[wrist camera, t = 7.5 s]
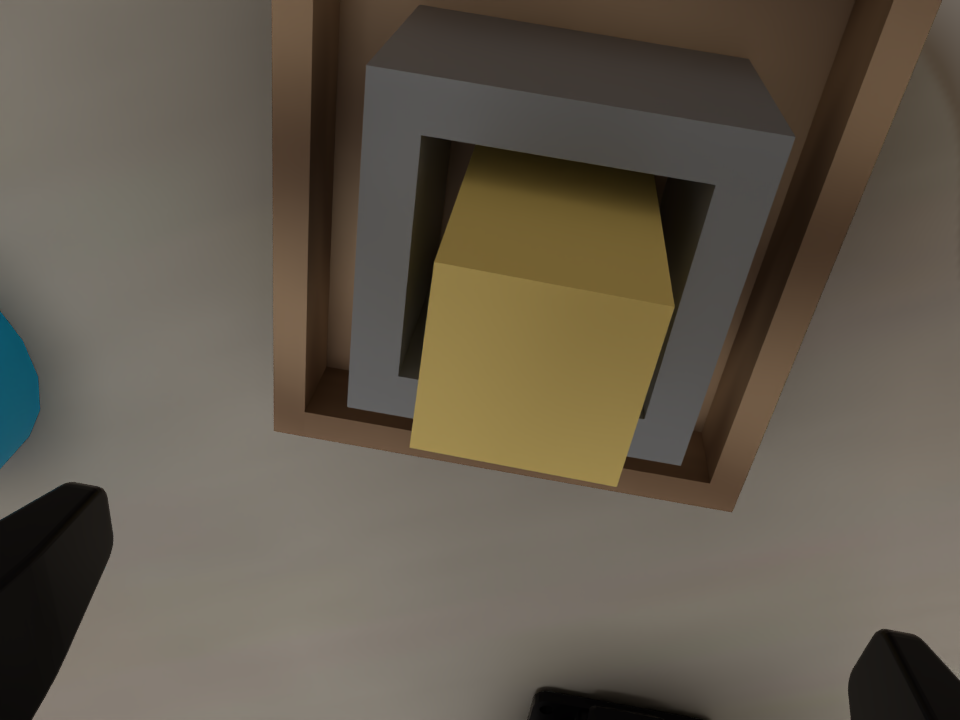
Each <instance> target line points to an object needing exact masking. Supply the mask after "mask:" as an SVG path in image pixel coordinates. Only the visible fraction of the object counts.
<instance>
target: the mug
mask: <svg viewBox="0 0 960 720" xmlns="http://www.w3.org/2000/svg"><path fill="white" fill-rule="evenodd" d="M39 411H40V401H39V383H38V376H37V373H36V371H35V369H34V366H33V364H32V361H31V359H30V357H29V354H28V352H27V350H26V347H25V345H24V342H23V340H22V339H21V338H20V336H19V335H18V334H17V333H16V331H15V330H14V329H13V327H12V326H11V325H10V323H9V322H8V321H7V320H6V318H5V317H4V316H3V314H2V313H1V312H0V468H1V467H2V466H3V465H4V464H5V463H6V462H7V461H8V459H9V458H10V457H11V456H12V455H13V454H14V453H15V452H16V451H17V449H18V448H19V447H20V446H21V445H22V444H23V443H24V442H25V440H26V439H27V438H28V437H29V436H30V433H31V431H32V429H33V426H34V424H35V421H36V419H37V416H38V414H39Z"/></svg>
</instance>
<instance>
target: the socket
mask: <svg viewBox="0 0 960 720" xmlns="http://www.w3.org/2000/svg"><path fill="white" fill-rule="evenodd" d="M451 140H452V141H458V142H464V143H470V144H476V145H482V146H488V147H494V148H500V149H506V150H512V151H518V152H524V153H529V154H535V155H541V156H547V157H553V158H559V159H565V160H571V161H577V162H583V163H589V164H595V165H600V166H606V167H612V168H618V169H624V170H630V171H636V172H642V173H648V174H654V175H660V176H666V177H667V181H666V185H665V188H664V192H663V196H662V199H661V203H660V207H659V210H660V216H661V223H662V229H663V235H664V242H665V248H666V254H667V261H668V267H669V274H670V280H671V286H672V293H673V299H674V305H675V308H674V311H673V314H672V317H671V320H670V323H669V326H668V329H667V333H666V336H665V339H664V342H663V345H662V348H661V351H660V354H659V357H658V360H657V364H656V367H655V370H654V373H653V376H652V379H651V382H650V385H649V388H648V392H647V395H646V398H645V401H644V404H643V407H642V410H641V413H640V416H639V419H638V423H637V426H636V429H635V432H634V435H633V438H632V441H631V444H630V447H629V450H628V454H627V456H628V457H633V458H639V459H645V460H650V461H656V462H662V463H667V464H673V465H679V466H681V464H682V461H683V458H684V456H685V453H686V450H687V447H688V444H689V441H690V438H691V435H692V433H693V430H694V427H695V424H696V421H697V418H698V415H699V413H700V410H701V407H702V404H703V401H704V398H705V395H706V393H707V390H708V387H709V384H710V381H711V378H712V375H713V372H714V370H715V367H716V364H717V361H718V358H719V355H720V352H721V350H722V347H723V344H724V341H725V338H726V335H727V332H728V329H729V327H730V324H731V321H732V318H733V315H734V312H735V309H736V307H737V304H738V301H739V298H740V295H741V292H742V289H743V286H744V284H745V281H746V278H747V275H748V272H749V269H750V266H751V264H752V261H753V258H754V255H755V252H756V249H757V246H758V244H759V241H760V238H761V235H762V232H763V229H764V226H765V223H766V221H767V218H768V215H769V212H770V209H771V206H772V203H773V201H774V198H775V195H776V192H777V189H778V186H779V183H780V180H781V178H782V175H783V172H784V169H785V166H786V163H787V160H788V158H789V155H790V152H791V149H792V146H793V143H794V140H795V135H794V133H793V132H792V130H791V128H790V127H789V125H788V123H787V122H786V120H785V118H784V117H783V115H782V113H781V112H780V110H779V108H778V107H777V105H776V103H775V102H774V100H773V98H772V97H771V95H770V93H769V92H768V90H767V88H766V87H765V85H764V83H763V82H762V80H761V78H760V77H759V75H758V73H757V72H756V70H755V68H754V67H753V65H752V63H751V62H750V60H749V59H746V58H740V57H733V56H727V55H721V54H715V53H709V52H703V51H697V50H691V49H685V48H679V47H673V46H667V45H661V44H655V43H649V42H643V41H637V40H631V39H625V38H619V37H613V36H607V35H601V34H594V33H588V32H582V31H576V30H570V29H564V28H558V27H552V26H546V25H540V24H534V23H528V22H522V21H516V20H510V19H504V18H498V17H492V16H486V15H480V14H474V13H468V12H461V11H455V10H449V9H443V8H437V7H431V6H425V5H419V6H418V7H417V8H416V9H415V10H414V11H413V13H412V14H411V15H410V16H409V17H408V18H407V19H406V20H405V22H404V23H403V24H402V25H401V26H400V27H399V28H398V30H397V31H396V32H395V33H394V34H393V35H392V36H391V37H390V39H389V40H388V41H387V42H386V43H385V44H384V45H383V47H382V48H381V49H380V50H379V51H378V52H377V53H376V55H375V56H374V57H373V58H372V59H371V60H370V61H369V62H368V64H367V65H366V77H365V95H364V113H363V131H362V149H361V167H360V185H359V203H358V221H357V239H356V257H355V275H354V293H353V311H352V329H351V347H350V364H349V382H348V400H347V407H350V408H356V409H361V410H367V411H373V412H378V413H384V414H390V415H395V416H401V417H407V418H412V419H413V417H414V410H415V402H416V395H417V387H418V380H419V372H420V365H421V357H422V350H423V342H424V335H425V327H426V320H427V312H428V304H429V297H430V289H431V282H432V274H433V267H434V261H435V258H436V255H437V252H438V250H439V242H440V234H441V225H442V216H443V208H444V199H445V191H446V182H447V173H448V165H449V156H450V148H451Z"/></svg>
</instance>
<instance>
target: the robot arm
mask: <svg viewBox="0 0 960 720" xmlns="http://www.w3.org/2000/svg"><path fill="white" fill-rule="evenodd" d="M112 547H113V530H112V524H111V517H110V510H109V504H108V498H107V494H106V492H105V491H104V489H103V488H100V487H98V486H93V485H87V484H82V483H76V482H68V483H65V484H63V485H61V486H59V487H57V488H55V489H54V490H52V491H50V492H48V493H47V494H45V495H43V496H41V497H40V498H38V499H36V500H34V501H33V502H31V503H29V504H27V505H26V506H24V507H22V508H20V509H19V510H17V511H15V512H13V513H12V514H10V515H8V516H6V517H5V518H3V519H1V520H0V720H32V719H33V717H34V715H35V713H36V712H37V710H38V708H39V707H40V705H41V703H42V701H43V700H44V698H45V696H46V694H47V693H48V691H49V689H50V687H51V685H52V683H53V682H54V680H55V678H56V676H57V674H58V672H59V670H60V668H61V666H62V663H63V661H64V659H65V657H66V655H67V653H68V650H69V648H70V646H71V644H72V641H73V639H74V637H75V634H76V632H77V630H78V628H79V625H80V623H81V621H82V619H83V616H84V614H85V612H86V610H87V607H88V605H89V603H90V600H91V598H92V596H93V594H94V591H95V589H96V587H97V585H98V582H99V580H100V578H101V575H102V573H103V571H104V569H105V566H106V564H107V562H108V560H109V557H110V554H111V551H112ZM848 695H849V705H850V715H851V720H960V680H959V679H958V678H957V677H956V676H955V675H954V674H953V672H952V671H951V670H950V669H949V668H948V667H947V666H946V665H945V664H944V663H943V662H942V660H941V659H940V658H939V657H938V656H937V655H936V654H935V653H934V652H933V651H932V650H931V649H930V647H929V646H928V645H927V644H926V643H925V642H924V641H923V640H922V639H921V638H919V637H918V636H916V635H914V634H910V633H905V632H899V631H893V630H888V629H881V630H879V631H878V632H876V633H875V634H874V635H873V637H872V638H871V640H870V642H869V643H868V645H867V647H866V648H865V650H864V651H863V653H862V655H861V656H860V658H859V660H858V661H857V663H856V665H855V666H854V668H853V670H852V672H851V674H850V678H849V683H848ZM527 720H702V719H696V718H691V717H685V716H680V715H674V714H669V713H663V712H658V711H652V710H647V709H641V708H636V707H631V706H625V705H620V704H614V703H609V702H603V701H598V700H592V699H587V698H581V697H576V696H570V695H565V694H559V693H554V692H546V691H544V692H539V693H537V694H536V695H535V696H534V698H533V701H532V705H531V708H530V712H529V716H528V719H527Z"/></svg>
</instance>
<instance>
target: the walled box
mask: <svg viewBox="0 0 960 720" xmlns="http://www.w3.org/2000/svg"><path fill="white" fill-rule="evenodd" d="M941 2H942V0H272V154H273V350H274V431H277V432H283V433H288V434H294V435H299V436H305V437H311V438H316V439H322V440H328V441H333V442H339V443H345V444H350V445H356V446H361V447H367V448H373V449H378V450H384V451H390V452H395V453H401V454H407V455H412V456H418V457H424V458H429V459H435V460H440V461H446V462H452V463H457V464H463V465H469V466H474V467H480V468H486V469H491V470H497V471H502V472H508V473H514V474H519V475H525V476H531V477H536V478H542V479H548V480H553V481H559V482H564V483H570V484H576V485H581V486H587V487H593V488H598V489H604V490H610V491H615V492H621V493H626V494H632V495H638V496H643V497H649V498H655V499H660V500H666V501H672V502H677V503H683V504H688V505H694V506H700V507H705V508H711V509H717V510H722V511H728V512H732V511H733V509H734V507H735V504H736V502H737V499H738V497H739V494H740V492H741V490H742V487H743V485H744V482H745V480H746V477H747V475H748V472H749V470H750V468H751V465H752V463H753V460H754V458H755V455H756V453H757V451H758V448H759V446H760V443H761V441H762V438H763V436H764V433H765V431H766V429H767V426H768V424H769V421H770V419H771V416H772V414H773V412H774V409H775V407H776V404H777V402H778V399H779V397H780V394H781V392H782V390H783V387H784V385H785V382H786V380H787V377H788V375H789V373H790V370H791V368H792V365H793V363H794V360H795V358H796V355H797V353H798V351H799V348H800V346H801V343H802V341H803V338H804V336H805V333H806V331H807V329H808V326H809V324H810V321H811V319H812V316H813V314H814V312H815V309H816V307H817V304H818V302H819V299H820V297H821V294H822V292H823V290H824V287H825V285H826V282H827V280H828V277H829V275H830V273H831V270H832V268H833V265H834V263H835V260H836V258H837V255H838V253H839V251H840V248H841V246H842V243H843V241H844V238H845V236H846V234H847V231H848V229H849V226H850V224H851V221H852V219H853V216H854V214H855V212H856V209H857V207H858V204H859V202H860V199H861V197H862V195H863V192H864V190H865V187H866V185H867V182H868V180H869V177H870V175H871V173H872V170H873V168H874V165H875V163H876V160H877V158H878V156H879V153H880V151H881V148H882V146H883V143H884V141H885V138H886V136H887V134H888V131H889V129H890V126H891V124H892V121H893V119H894V117H895V114H896V112H897V109H898V107H899V104H900V102H901V99H902V97H903V95H904V92H905V90H906V87H907V85H908V82H909V80H910V78H911V75H912V73H913V70H914V68H915V65H916V63H917V60H918V58H919V56H920V53H921V51H922V48H923V46H924V43H925V41H926V39H927V36H928V34H929V31H930V28H931V26H932V24H933V21H934V19H935V17H936V14H937V12H938V9H939V7H940V4H941ZM419 5H425V6H431V7H437V8H443V9H449V10H455V11H461V12H468V13H474V14H480V15H486V16H492V17H498V18H504V19H510V20H516V21H522V22H528V23H534V24H540V25H546V26H552V27H558V28H564V29H570V30H576V31H582V32H588V33H594V34H601V35H607V36H613V37H619V38H625V39H631V40H637V41H643V42H649V43H655V44H661V45H667V46H673V47H679V48H685V49H691V50H697V51H703V52H709V53H715V54H721V55H727V56H733V57H740V58H746V59H749V60H750V62H751V63H752V65H753V67H754V68H755V70H756V72H757V73H758V75H759V77H760V78H761V80H762V82H763V83H764V85H765V87H766V88H767V90H768V92H769V93H770V95H771V97H772V98H773V100H774V102H775V103H776V105H777V107H778V108H779V110H780V112H781V113H782V115H783V117H784V118H785V120H786V122H787V123H788V125H789V127H790V128H791V130H792V132H793V133H794V135H795V140H794V143H793V146H792V149H791V152H790V155H789V158H788V160H787V163H786V166H785V169H784V172H783V175H782V178H781V180H780V183H779V186H778V189H777V192H776V195H775V198H774V201H773V203H772V206H771V209H770V212H769V215H768V218H767V221H766V223H765V226H764V229H763V232H762V235H761V238H760V241H759V244H758V246H757V249H756V252H755V255H754V258H753V261H752V264H751V266H750V269H749V272H748V275H747V278H746V281H745V284H744V286H743V289H742V292H741V295H740V298H739V301H738V304H737V307H736V309H735V312H734V315H733V318H732V321H731V324H730V327H729V329H728V332H727V335H726V338H725V341H724V344H723V347H722V350H721V352H720V355H719V358H718V361H717V364H716V367H715V370H714V372H713V375H712V378H711V381H710V384H709V387H708V390H707V393H706V395H705V398H704V401H703V404H702V407H701V410H700V413H699V415H698V418H697V421H696V424H695V427H694V430H693V433H692V435H691V438H690V441H689V444H688V447H687V450H686V453H685V456H684V458H683V461H682V464H681V466H679V465H673V464H667V463H662V462H656V461H650V460H645V459H639V458H633V457H628V456H627V457H626V460H625V463H624V466H623V469H622V472H621V475H620V478H619V482H618V485H617V487H614V486H608V485H603V484H598V483H593V482H587V481H582V480H577V479H572V478H566V477H561V476H556V475H551V474H545V473H540V472H535V471H530V470H524V469H519V468H514V467H509V466H503V465H498V464H493V463H488V462H482V461H477V460H472V459H467V458H461V457H456V456H451V455H446V454H440V453H435V452H430V451H425V450H419V449H414V448H409V447H410V440H411V432H412V425H413V419H412V418H407V417H401V416H395V415H390V414H384V413H378V412H373V411H367V410H361V409H356V408H350V407H347V400H348V382H349V364H350V347H351V329H352V311H353V293H354V275H355V257H356V239H357V221H358V203H359V185H360V167H361V149H362V131H363V113H364V95H365V77H366V65H367V64H368V62H369V61H370V60H371V59H372V58H373V57H374V56H375V55H376V53H377V52H378V51H379V50H380V49H381V48H382V47H383V45H384V44H385V43H386V42H387V41H388V40H389V39H390V37H391V36H392V35H393V34H394V33H395V32H396V31H397V30H398V28H399V27H400V26H401V25H402V24H403V23H404V22H405V20H406V19H407V18H408V17H409V16H410V15H411V14H412V13H413V11H414V10H415V9H416V8H417V7H418V6H419ZM475 145H476V144H470V143H464V142H458V141H452V140H451V148H450V156H449V165H448V173H447V182H446V191H445V199H444V208H443V216H442V225H441V234H440V242H439V247H440V244H441V241H442V238H443V235H444V233H445V230H446V227H447V224H448V221H449V219H450V216H451V213H452V210H453V207H454V204H455V202H456V199H457V196H458V193H459V190H460V187H461V185H462V182H463V179H464V176H465V173H466V170H467V168H468V165H469V162H470V159H471V156H472V153H473V151H474V148H475ZM654 178H655V184H656V191H657V197H658V203H659V207H660V203H661V199H662V196H663V192H664V188H665V185H666V181H667V177H666V176H660V175H654Z"/></svg>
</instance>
